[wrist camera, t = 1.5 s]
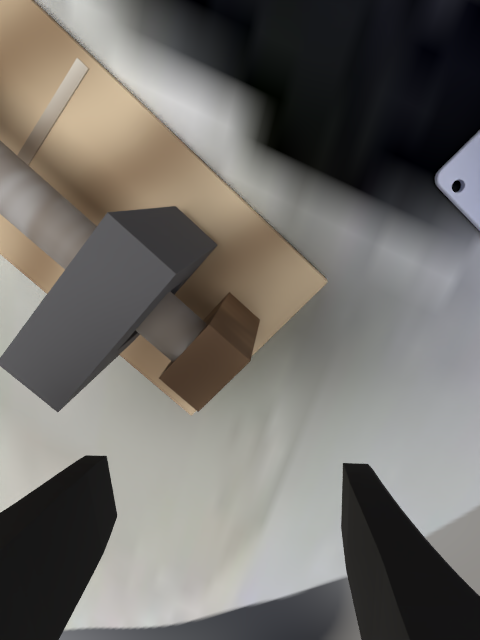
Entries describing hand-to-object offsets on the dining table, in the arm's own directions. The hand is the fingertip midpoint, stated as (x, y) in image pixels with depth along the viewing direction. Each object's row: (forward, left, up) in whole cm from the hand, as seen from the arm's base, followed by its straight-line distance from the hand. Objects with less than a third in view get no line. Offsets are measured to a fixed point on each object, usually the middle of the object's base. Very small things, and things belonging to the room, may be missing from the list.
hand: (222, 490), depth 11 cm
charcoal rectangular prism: (+6, 0, -8) cm, 10 cm away
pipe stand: (+10, 0, -10) cm, 14 cm away
